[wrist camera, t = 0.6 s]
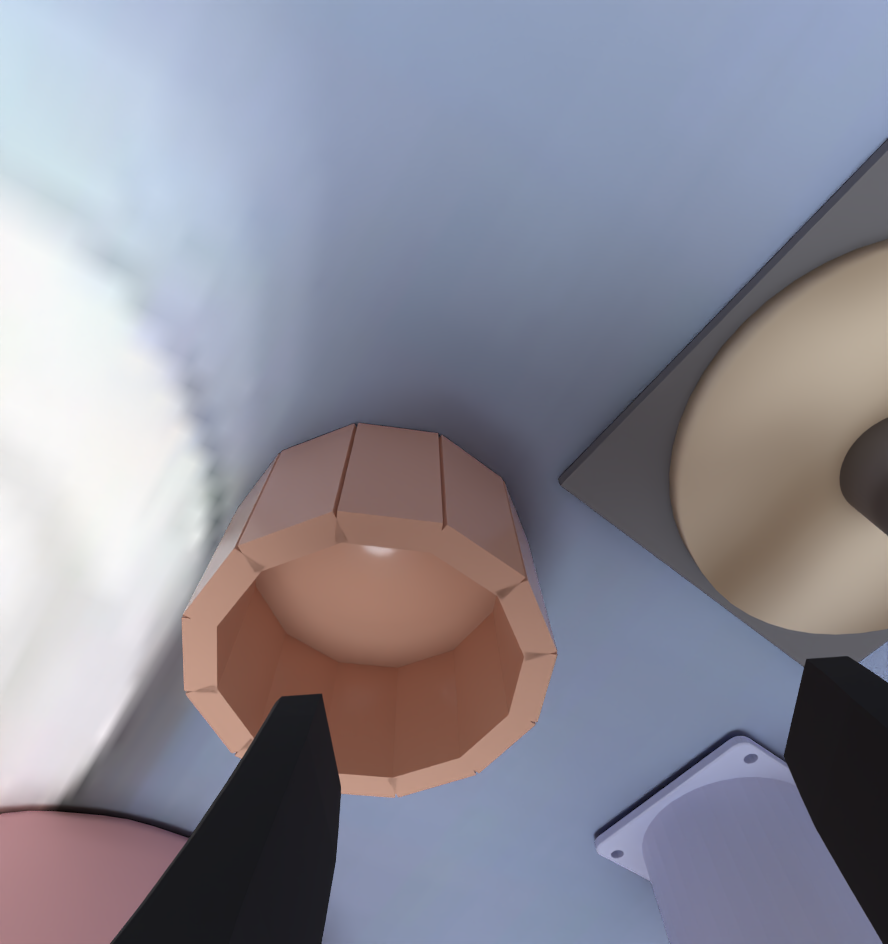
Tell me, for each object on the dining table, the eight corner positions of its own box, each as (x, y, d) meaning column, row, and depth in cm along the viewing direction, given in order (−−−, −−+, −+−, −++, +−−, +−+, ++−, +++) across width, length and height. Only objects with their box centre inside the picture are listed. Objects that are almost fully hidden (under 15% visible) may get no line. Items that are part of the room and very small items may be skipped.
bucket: (582, 536, 20) (627, 645, 16) (408, 704, 23) (405, 836, 19) (345, 365, 18) (319, 438, 13) (183, 580, 21) (116, 699, 16)
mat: (1185, 409, 19) (1200, 414, 19) (821, 676, 23) (827, 684, 23) (939, 86, 15) (951, 84, 15) (557, 479, 19) (560, 485, 19)
